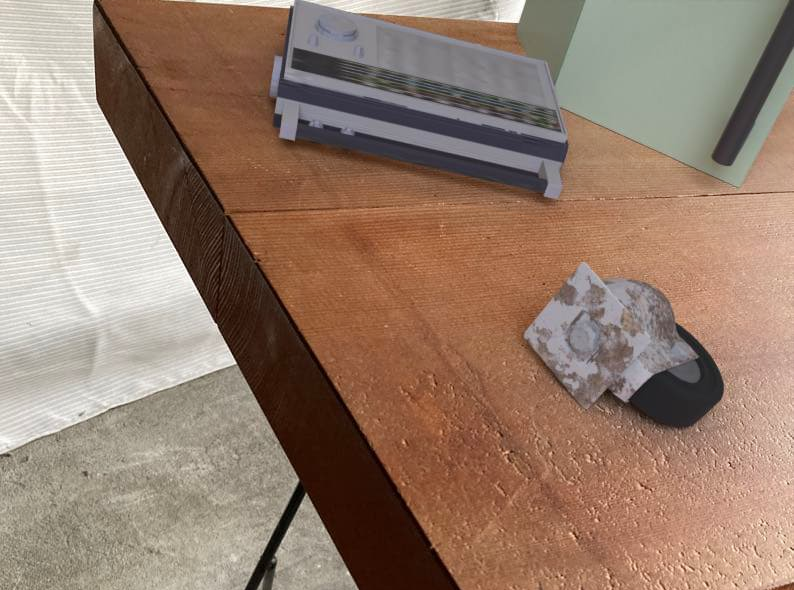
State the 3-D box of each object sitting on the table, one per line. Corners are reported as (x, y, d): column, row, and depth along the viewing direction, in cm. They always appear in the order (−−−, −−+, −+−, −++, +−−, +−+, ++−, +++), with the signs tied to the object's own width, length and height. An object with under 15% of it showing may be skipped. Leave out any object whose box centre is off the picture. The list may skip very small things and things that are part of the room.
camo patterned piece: (696, 433, 69) (625, 467, 62) (595, 316, 71) (517, 336, 65) (767, 369, 64) (699, 399, 57) (656, 246, 67) (578, 260, 60)
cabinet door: (724, 216, 87) (866, -49, 72) (524, 124, 90) (619, -150, 75) (741, 184, 93) (877, -68, 77) (551, 99, 96) (645, -161, 80)
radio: (550, 51, 90) (582, 155, 76) (531, 107, 94) (558, 216, 80) (286, -16, 85) (270, 83, 72) (276, 46, 89) (260, 150, 76)
